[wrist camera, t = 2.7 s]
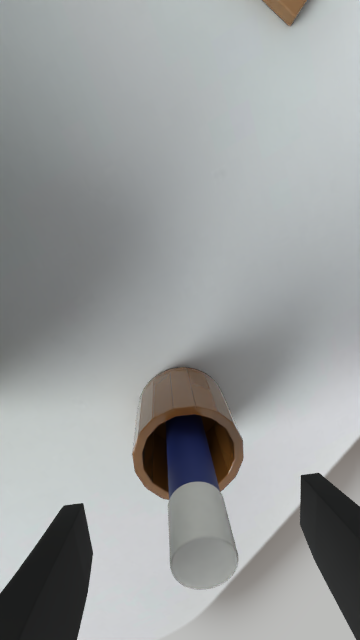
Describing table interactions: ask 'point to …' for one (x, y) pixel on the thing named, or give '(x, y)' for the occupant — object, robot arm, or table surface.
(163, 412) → the cup
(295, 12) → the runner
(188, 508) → the marker
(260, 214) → the table surface
